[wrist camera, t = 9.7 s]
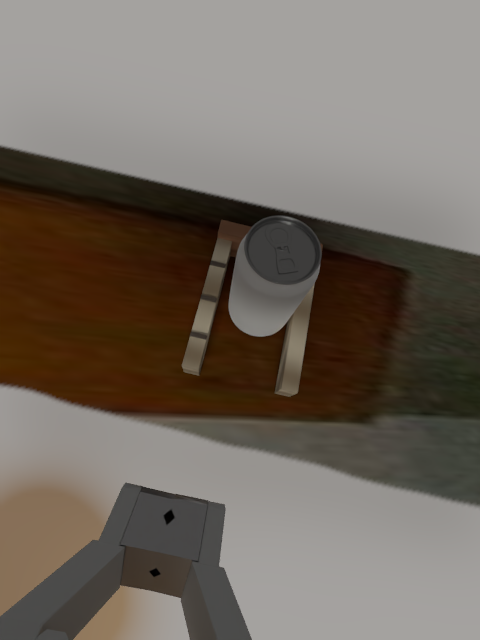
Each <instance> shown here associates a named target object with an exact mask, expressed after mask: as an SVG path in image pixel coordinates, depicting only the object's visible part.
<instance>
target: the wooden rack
mask: <svg viewBox="0 0 480 640" xmlns="http://www.w3.org/2000/svg"><path fill="white" fill-rule="evenodd" d="M250 229H251V227H250V226H246V225H241V224H237V223H233V222H229V221H225V220H221V223H220V227H219V231H218V239H217V242H216V246H215V249H214V253H213V256H212V260H211V263H210V267H209V271H208V274H207V278H206V281H205V285H204V289H203V292H202V295H201V299H200V303H199V306H198V310H197V314H196V317H195V321H194V324H193V328H192V331H191V334H190V339H189V342H188V346H187V349H186V353H185V356H184V360H183V363H182V368H183V371H184V372H186V373H191V374H195V375H199V374H200V370H201V366H202V363H203V359H204V355H205V351H206V347H207V343H208V339H209V336H210V332H211V328H212V324H213V320H214V316H215V313H216V309H217V305H218V301H219V297H220V293H221V289H222V286H223V282H224V278H225V274H226V270H227V266H228V262H229V259H230V256H232V257H236V255H237V251H238V248H239V245H240V243H241V241H242V239H243V238H244V237H245V235H246V234H247V233H248V232H249V230H250ZM320 245H321V251H322V248H323V244H320ZM314 284H315V283H314ZM314 284H313V286H312V287H311V289H310V290H309V292H308V293H307V295H306V296H305V298H304V299H303V300H302V302H301V303H300V305H299V306H298V307H297V309H296V310H295V312H294V313H293V314H292V316H291V317H290V318H289V320H288V321H287V327H286V332H285V338H284V344H283V349H282V355H281V360H280V366H279V372H278V377H277V383H276V389H275V393H276V394H281V395H285V396H289V397H290V396H292V395H294V394H296V393H298V388H299V381H300V375H301V368H302V362H303V355H304V349H305V342H306V336H307V329H308V323H309V316H310V310H311V303H312V297H313V290H314Z"/></svg>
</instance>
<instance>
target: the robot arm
mask: <svg viewBox="0 0 480 640" xmlns="http://www.w3.org/2000/svg"><path fill="white" fill-rule="evenodd" d="M224 517H225V505H224V504H219V503H214V502H210V501H208V500H202V499H198V498H193V497H188V496H183V495H178V494H172V493H167V492H163V491H158V490H155V489H150V488H146V487H143V486H138V485H134V484H129V483H125V484H124V486H123V487H122V489H121V491H120V493H119V496H118V498H117V500H116V503H115V505H114V507H113V509H112V512H111V514H110V516H109V518H108V521H107V523H106V525H105V527H104V530H103V532H102V534H101V536H100V539H99V541H97V540H92V541H91V542H90V543H89V544H88V545H86V546H85V547H84V548H83V549H81V550H80V551H79V552H78V553H77V554H75V555H74V556H73V557H72V558H71V559H69V560H68V561H67V562H66V563H64V564H63V565H62V566H61V567H60V568H59V569H57V570H56V571H55V572H54V573H52V574H51V575H50V576H49V577H48V578H46V579H45V580H44V581H43V582H41V583H40V584H39V585H38V586H37V587H35V588H34V589H33V590H32V591H31V592H29V593H28V594H27V595H26V596H25V597H23V598H22V599H21V600H20V601H19V602H17V603H16V604H15V605H14V606H12V607H11V608H10V609H9V610H8V611H6V612H5V613H4V614H3V615H2V616H0V640H73V639H74V638H75V637H76V635H77V634H78V633H79V632H80V631H81V630H82V629H83V628H84V627H85V625H86V624H87V623H88V622H89V621H90V620H91V618H93V617H94V615H95V614H96V613H97V612H98V611H99V610H100V609H101V608H102V607H103V605H104V604H105V603H106V602H107V601H108V600H109V599H110V598H111V597H112V595H113V594H114V593H115V592H116V591H117V590H118V589H119V588H120V585H122V586H128V587H134V588H140V589H145V590H151V591H155V592H159V593H163V594H167V595H171V596H175V597H179V598H181V603H182V607H183V611H184V616H185V620H186V624H187V628H188V632H189V637H190V640H252V639H251V636H250V634H249V631H248V629H247V626H246V624H245V621H244V618H243V616H242V613H241V611H240V608H239V606H238V603H237V600H236V598H235V595H234V593H233V590H232V588H231V586H230V583H229V580H228V578H227V575H226V572H225V570H224V568H222V567H219V560H220V551H221V542H222V534H223V526H224Z"/></svg>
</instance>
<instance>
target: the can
mask: <svg viewBox="0 0 480 640" xmlns="http://www.w3.org/2000/svg"><path fill="white" fill-rule="evenodd" d="M321 256H322V251H321V245H320V242H319V240H318V238H317V236H316V234H315V233H314V232H313V230H312V229H311V228H310V227H309V226H307V225H306V224H305V223H303V222H302V221H300V220H298V219H295V218H292V217H289V216H280V215H278V216H270V217H267V218H264V219H262V220H260V221H258V222H257V223H255V224H254V225H253V226H252V227H251V229H250V230H249V232H248V233H247V234H246V235H245V237H244V238H243V239H242V241H241V243H240V245H239V248H238V251H237V255H236V260H235V266H234V272H233V278H232V284H231V290H230V296H229V304H228V307H229V314H230V317H231V319H232V321H233V322H234V324H235V325H236V326H237V327H238V328H239V329H240V330H242V331H243V332H245V333H247V334H249V335H253V336H269V335H272V334H274V333H276V332H278V331H279V330H280V329H281V328H282V327H283V326H284V325H285V324H286V322H287V321H288V320H289V318H290V317H291V316H292V314H293V313H294V312H295V310H296V309H297V307H298V306H299V305H300V303H301V302H302V300H303V299H304V298H305V296H306V295H307V293H308V292H309V290H310V289H311V287H312V286H313V284H314V283H315V281H316V279H317V277H318V274H319V270H320V262H321Z"/></svg>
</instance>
